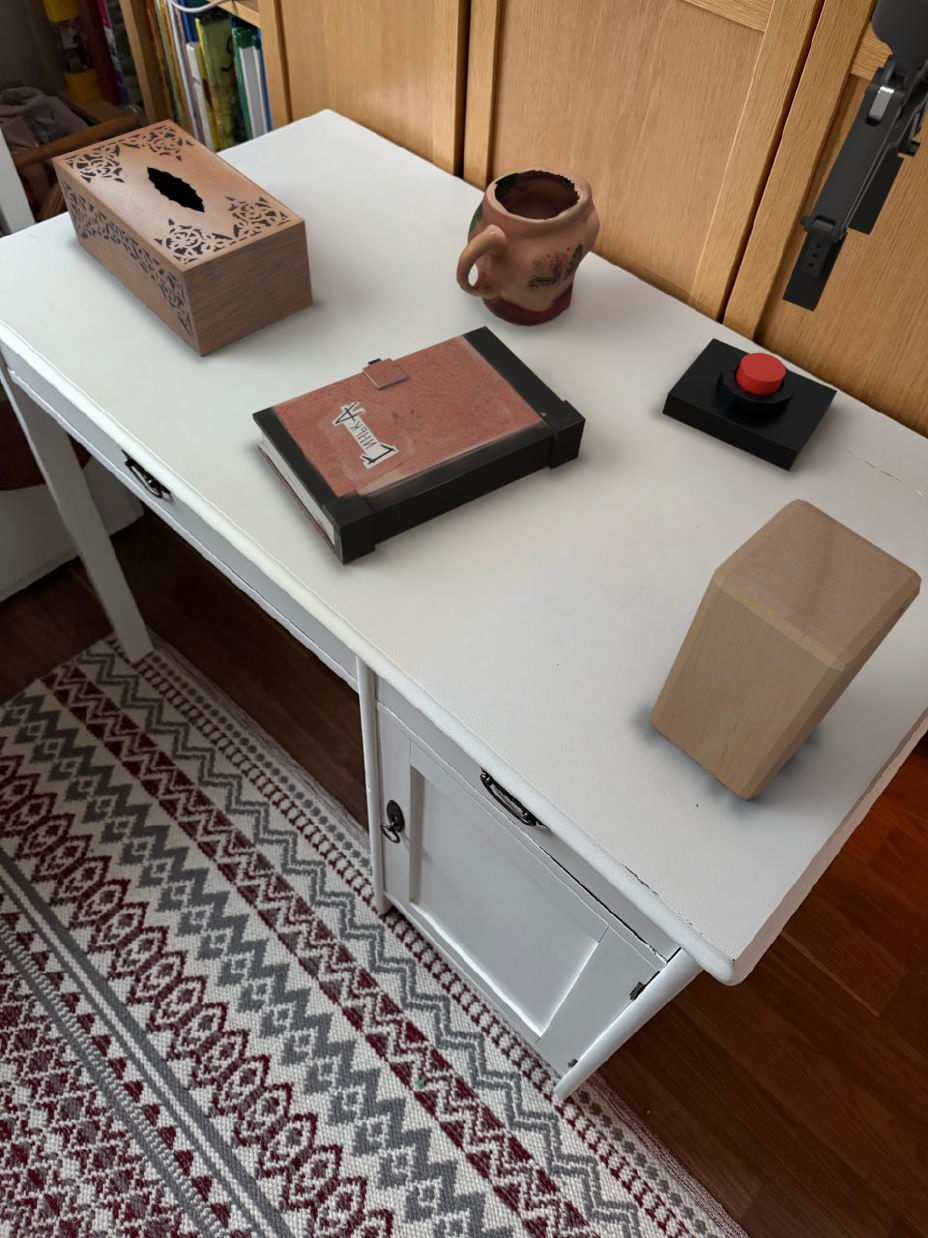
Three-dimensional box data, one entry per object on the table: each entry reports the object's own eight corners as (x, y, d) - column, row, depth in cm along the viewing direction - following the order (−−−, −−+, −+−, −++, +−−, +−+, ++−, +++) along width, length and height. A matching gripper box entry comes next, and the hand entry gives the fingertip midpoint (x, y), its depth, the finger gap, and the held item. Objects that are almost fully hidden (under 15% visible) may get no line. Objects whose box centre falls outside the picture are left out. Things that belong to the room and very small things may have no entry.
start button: (786, 377, 91) (792, 363, 90) (769, 401, 89) (775, 387, 88) (746, 360, 93) (751, 346, 91) (728, 383, 90) (733, 369, 89)
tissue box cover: (79, 243, 105) (51, 158, 97) (186, 202, 111) (169, 118, 103) (201, 356, 95) (182, 271, 87) (313, 304, 101) (304, 220, 93)
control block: (827, 410, 95) (844, 376, 91) (788, 471, 89) (804, 437, 86) (706, 358, 99) (718, 323, 95) (661, 413, 94) (672, 378, 90)
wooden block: (816, 728, 73) (934, 574, 56) (745, 809, 68) (851, 668, 52) (715, 652, 77) (798, 487, 60) (641, 724, 72) (710, 568, 56)
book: (479, 357, 97) (482, 317, 93) (577, 457, 89) (585, 418, 85) (255, 444, 88) (248, 405, 84) (343, 565, 80) (339, 527, 76)
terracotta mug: (506, 377, 96) (519, 258, 84) (418, 327, 100) (419, 207, 88) (611, 292, 105) (635, 175, 94) (527, 250, 109) (540, 133, 98)
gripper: (948, -93, 67) (837, 186, 84) (829, 19, 54) (728, 320, 71) (1052, -67, 65) (916, 214, 82) (953, 57, 52) (817, 357, 69)
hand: (828, 264), depth 77 cm, fingers open, 13 cm apart
